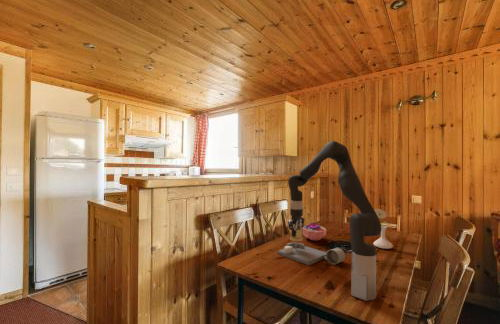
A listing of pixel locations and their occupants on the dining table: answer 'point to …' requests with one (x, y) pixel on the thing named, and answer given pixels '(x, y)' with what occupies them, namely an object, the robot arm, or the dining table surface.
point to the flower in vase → (382, 232)
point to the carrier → (302, 253)
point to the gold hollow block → (297, 235)
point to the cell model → (314, 231)
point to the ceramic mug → (335, 256)
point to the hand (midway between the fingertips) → (296, 235)
